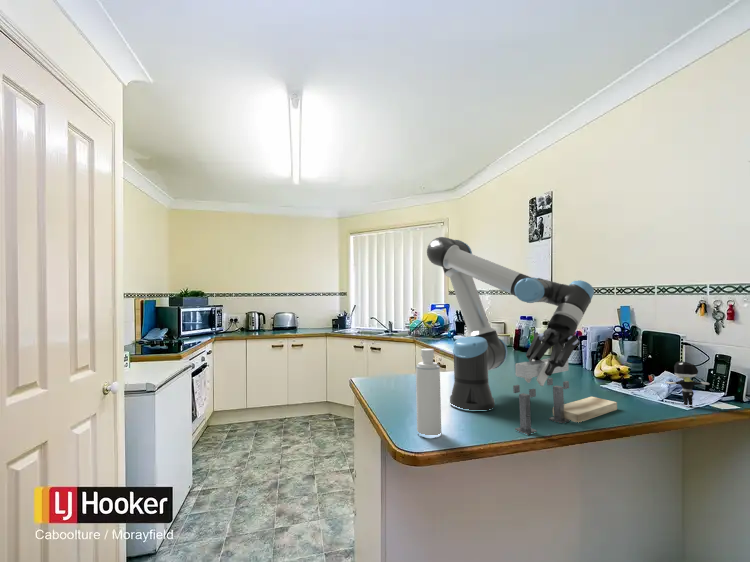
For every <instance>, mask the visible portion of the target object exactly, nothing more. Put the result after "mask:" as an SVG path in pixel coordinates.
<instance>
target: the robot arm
mask: <svg viewBox="0 0 750 562" xmlns="http://www.w3.org/2000/svg"><path fill="white" fill-rule="evenodd" d="M426 255H427V258H428V260H429V261H430V263H432V264H433V265H435V266H438V267H442V270H443V273H444V275H445V277H448V278H449V280H450V281H451V282H450V283H451V285H452V287H453V288H452V289H453V290H454V294H455V296H456V301H457V303H458V305H459V308H460V312H461V314H462V315H461V316H462V317H463V321H464V323H465V327H466V329H467V332H468V334H467V336H466V337H465V336H464V337H460V338H457V339H455V341H454V342H453V349H452V352H453V374H454V375H453V376H454V381H453V387H452V390H451V394H450V396H449V404H450V403H451V404H453V405H455V406H457V407H460V408H463V409H469V410H489V409H492V408H494V406H495V399H494V397H493V395H492V390H491V388H490V385H489V383H490V382H489V371H490V370H493V369H497V368H499V367H501V366H502V365H504V363H505V362H506V360H507V358H508V347H507V344H506V343H505V342H504V340H503V339H501V338H499V335H498V333H497V330H496V329H494V328H493V327H491V325H490V323H489V320H488V316H487V314H486V311H485V309H484V306H483V304H482V301H481V298H480V295H479V292H478V289H477V287H476V284H475V281H474V279H475V280H478V281H480V282H483V283H485V284H488V285H489V286H491V287H494V288H496V289H499V290H501V291H502V292H506V293H508V294H511V295H513V296H514V297H516V298H517V299H518V300H519V301H521V302H524V303H527V304H528V303H529V304H534V303H544V304H545V303H546V304H549V305H554V306H556V308H555V310H554V312H553V315H552V316H551V318H550V320H549V321H548V323H547V328H546V329H544V331H543V332H541V333H538V332H536V331H535V332H534V334H533V335H534V336H533V339H532V341H531V344H530V346H529V347H528V350H527V351H526V354H525V357H526V358H527V359H528V362H529V361H535V360H542V358H543V357H544V356H545V354H546V353H547V352H548V351H549V349H552V350H551V354H550V356H549V358H550V359H548V358H547V359H548V361H549V362H550V363H548V362H545V364H544V366H543V368H542V370H541V372H540V373H539V375H538V376H537V377H536V382H537V383H538V384H539V386H541V387H544V385H545V383H546V382H547V378H549V377H551V376H552V375H553V374H554V373H553V371H554V369H555V368H556V367H558V366H560V367H564V365H565V363H566V362H567V360H568V361H569V358H570V357H571V355H572V353H573V352H574V350H575V348H576V347H578V346H579V345H580V344H581V343H580V341H579V339H578V337H577V336H575V333H576V331H577V330H578V326H579V325H580V322H581V321H582V319H583V317H584V315H585V313H586V311H587V309H588V308H589V305H590V304H591V302H592V299H593V297H594V295H595V290H594V287H593V286H592V285H591V284H590V283H589V282H587V281H584V280H582V279H580V280H573V281H571V282H570V283H569V285H568V284H565V283H559V282H555V281H551V280H547V279H544V278H542V277H541V278H540V277H532V276H529V275H527V274H523V273H521V272H519V271H516V270H513V269H511V268H509V267H506V266H503V265H501V264H498V263H495V262H493V261H490V260H488V259H485V258H484V257H480V256H478V255H475V254H473V250H472V248H471V247H470V246H469V245H468V244H467V243H465V242H464V241H462V240H459V239H453V238H448V237H445V236H439V237H435V238H434V239H433V240H431V241H430V242H429V244H428V246H427V248H426ZM552 373H553V374H552ZM523 379H524V381H526V383H528V384H530V383H531V381H532V379H533V377H532V378H527V379H526V378H523ZM495 407H496V406H495ZM494 409H495V408H494ZM492 410H493V409H492Z"/></svg>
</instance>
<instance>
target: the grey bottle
mask: <svg viewBox="0 0 750 562" xmlns="http://www.w3.org/2000/svg"><path fill="white" fill-rule="evenodd" d="M434 350H435V349H434V348H421V349H420V356H421V361H420V362H418V363H417V364H416V365H415V389H416V390H415V392H416V396H415V397H416V398H415V399H416V401H415V402H416V432H417V431H418V432H419V433H421V434H425V435H438V434H440V433H441V434H442V406H441V405H442V404H441V400H442V399H441V369H440V368H441V367H440V366H441V365H439V364H438V363H437V362H435V361H434V357H435V354H434V353H435V351H434Z"/></svg>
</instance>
